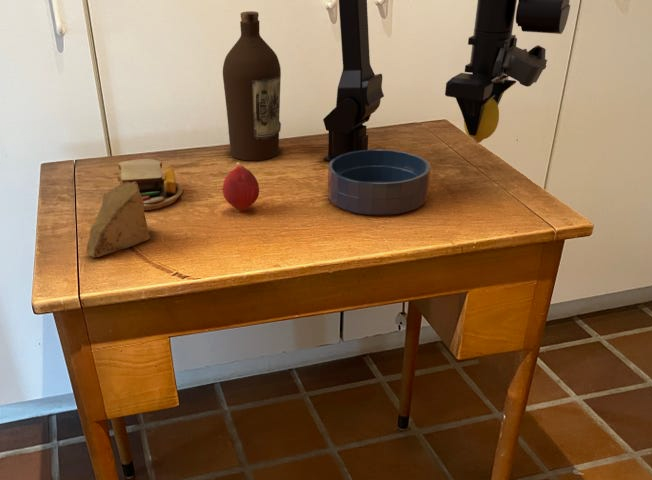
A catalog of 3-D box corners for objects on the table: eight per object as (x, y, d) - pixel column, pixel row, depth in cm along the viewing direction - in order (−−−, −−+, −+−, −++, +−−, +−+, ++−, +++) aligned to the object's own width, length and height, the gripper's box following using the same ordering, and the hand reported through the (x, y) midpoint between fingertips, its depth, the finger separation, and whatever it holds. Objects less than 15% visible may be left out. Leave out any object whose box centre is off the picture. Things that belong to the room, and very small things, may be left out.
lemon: (496, 148, 121) (503, 98, 116) (461, 147, 122) (467, 97, 117) (494, 138, 125) (501, 89, 121) (460, 137, 126) (466, 89, 122)
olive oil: (216, 154, 143) (206, 14, 129) (255, 141, 149) (250, 5, 135) (254, 166, 136) (248, 20, 122) (293, 152, 142) (292, 11, 128)
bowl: (309, 204, 120) (309, 171, 117) (358, 174, 131) (359, 143, 128) (398, 225, 112) (401, 191, 109) (443, 191, 123) (446, 159, 120)
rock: (84, 254, 102) (154, 235, 103) (67, 196, 103) (136, 177, 104) (93, 268, 113) (156, 250, 114) (77, 215, 113) (140, 198, 114)
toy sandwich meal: (104, 214, 120) (100, 186, 117) (114, 184, 131) (111, 158, 128) (181, 210, 120) (178, 182, 117) (184, 181, 131) (182, 155, 129)
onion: (264, 205, 120) (263, 158, 116) (253, 219, 116) (250, 170, 112) (231, 202, 122) (228, 155, 118) (218, 216, 118) (215, 167, 113)
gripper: (523, 45, 103) (506, 154, 112) (565, 23, 116) (546, 123, 124) (449, 38, 109) (438, 143, 118) (496, 18, 121) (483, 114, 130)
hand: (479, 130), depth 122 cm, fingers closed on lemon, 5 cm apart
